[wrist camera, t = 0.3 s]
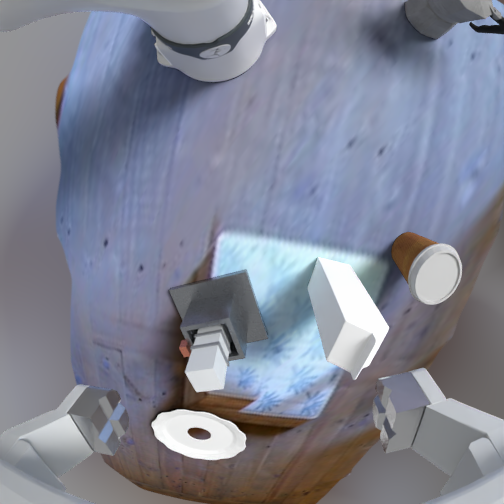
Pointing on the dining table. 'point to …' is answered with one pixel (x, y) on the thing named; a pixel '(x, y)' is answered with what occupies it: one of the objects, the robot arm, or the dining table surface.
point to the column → (209, 358)
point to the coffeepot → (451, 15)
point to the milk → (345, 316)
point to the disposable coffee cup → (427, 267)
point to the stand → (220, 310)
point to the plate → (177, 439)
